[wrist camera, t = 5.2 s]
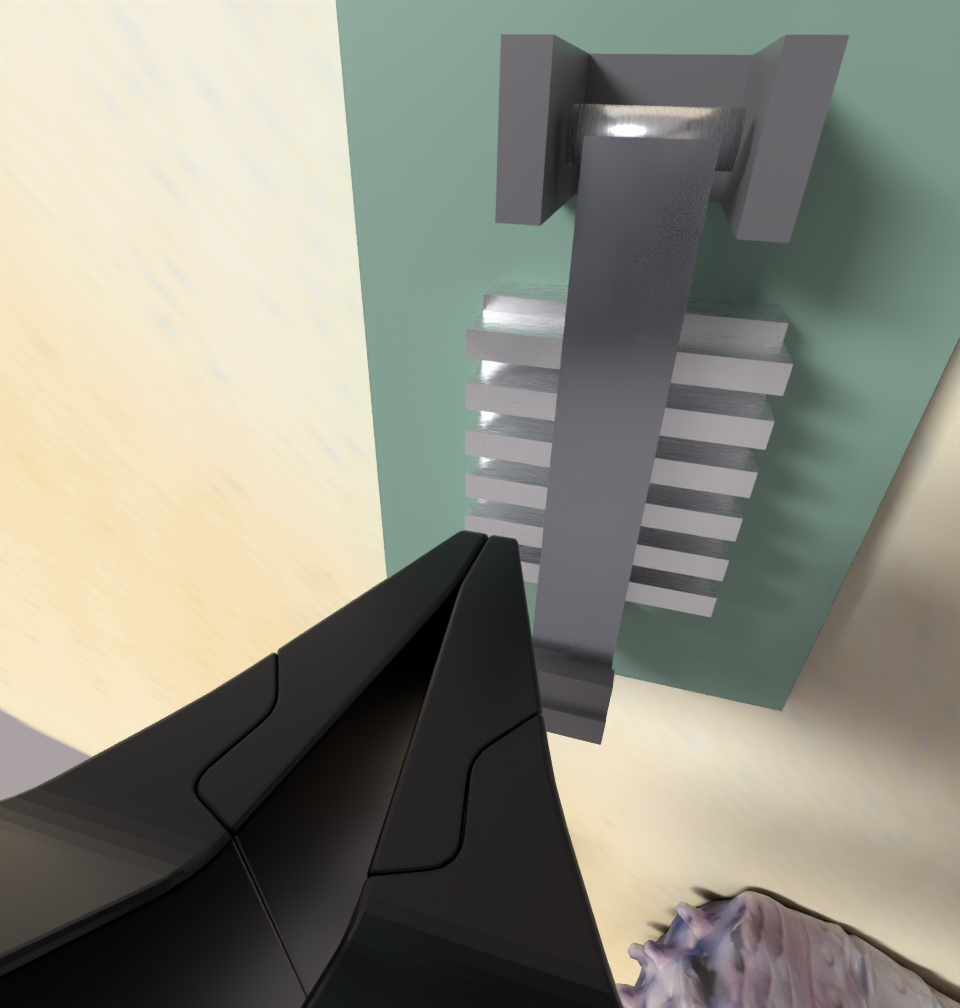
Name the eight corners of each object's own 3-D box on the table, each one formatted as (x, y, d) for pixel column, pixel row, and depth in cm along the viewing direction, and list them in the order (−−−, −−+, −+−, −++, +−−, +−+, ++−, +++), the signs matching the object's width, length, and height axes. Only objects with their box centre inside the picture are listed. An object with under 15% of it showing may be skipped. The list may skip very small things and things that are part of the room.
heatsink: (779, 304, 14) (799, 345, 12) (703, 561, 19) (707, 627, 17) (498, 279, 16) (466, 311, 14) (489, 523, 20) (464, 579, 18)
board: (1094, -17, 11) (1133, -28, 10) (777, 685, 22) (781, 711, 22) (357, -7, 14) (334, -14, 13) (402, 605, 26) (391, 624, 25)
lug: (626, 564, 20) (611, 693, 16) (616, 612, 21) (600, 744, 17) (554, 551, 20) (521, 673, 16) (549, 599, 22) (516, 724, 17)
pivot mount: (792, 56, 12) (850, 34, 8) (756, 200, 13) (789, 242, 9) (555, 54, 13) (501, 33, 9) (545, 189, 14) (495, 222, 10)
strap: (576, 104, 11) (569, 102, 10) (743, 108, 10) (748, 107, 9) (527, 622, 17) (520, 643, 17) (625, 642, 17) (623, 666, 16)
